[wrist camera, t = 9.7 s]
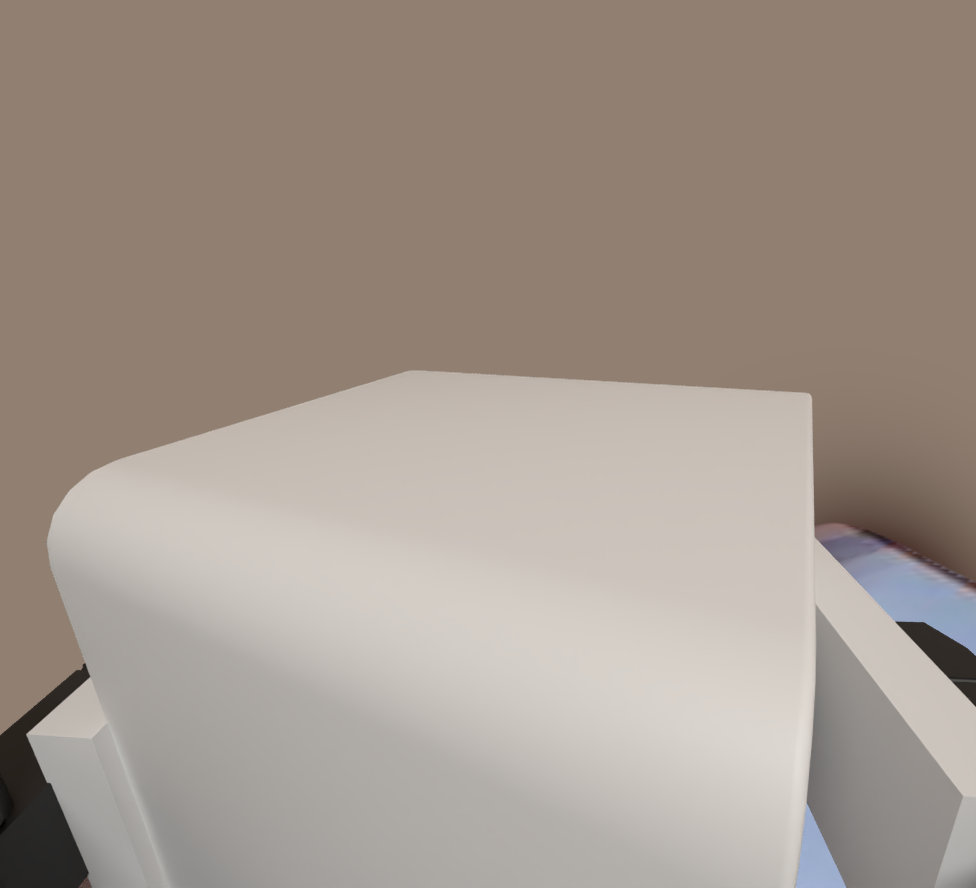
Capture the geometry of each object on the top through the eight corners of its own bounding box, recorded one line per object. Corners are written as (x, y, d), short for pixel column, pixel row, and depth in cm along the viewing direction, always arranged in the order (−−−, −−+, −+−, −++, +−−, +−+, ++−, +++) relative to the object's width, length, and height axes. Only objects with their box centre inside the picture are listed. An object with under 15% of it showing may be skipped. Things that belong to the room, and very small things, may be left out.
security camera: (465, 764, 13) (430, 362, 10) (788, 920, 10) (892, 385, 6) (242, 1100, 8) (15, 486, 5) (766, 1688, 5) (1222, 919, 1)
